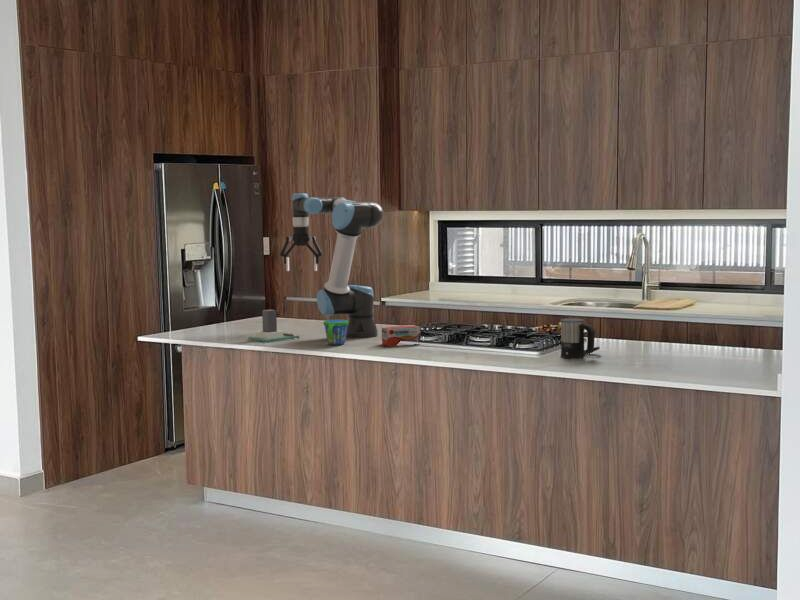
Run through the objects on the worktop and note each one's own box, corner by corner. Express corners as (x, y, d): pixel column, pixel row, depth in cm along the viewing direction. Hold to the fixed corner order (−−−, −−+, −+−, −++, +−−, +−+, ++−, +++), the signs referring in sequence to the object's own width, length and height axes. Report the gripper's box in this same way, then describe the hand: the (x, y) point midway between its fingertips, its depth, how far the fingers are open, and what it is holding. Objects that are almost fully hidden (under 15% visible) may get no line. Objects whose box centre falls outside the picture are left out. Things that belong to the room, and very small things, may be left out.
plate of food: (584, 328, 457) (584, 316, 456) (598, 336, 429) (598, 323, 429) (526, 331, 456) (525, 319, 456) (536, 339, 429) (535, 326, 428)
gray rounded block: (276, 336, 432) (276, 310, 431) (268, 337, 429) (267, 311, 428) (271, 335, 436) (270, 309, 435) (262, 336, 433) (262, 310, 432)
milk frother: (557, 358, 373) (557, 320, 371) (566, 352, 387) (566, 315, 386) (594, 360, 367) (594, 321, 366) (601, 354, 382) (601, 317, 381)
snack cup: (339, 347, 407) (339, 323, 406) (317, 346, 411) (316, 322, 410) (354, 342, 421) (354, 319, 420) (333, 341, 425) (332, 318, 424)
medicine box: (414, 342, 420) (414, 324, 419) (420, 345, 412) (420, 326, 411) (381, 344, 415) (381, 326, 414) (387, 347, 407) (387, 328, 406)
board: (299, 338, 435) (298, 330, 434) (265, 342, 423) (265, 334, 422) (281, 335, 445) (280, 327, 445) (248, 339, 433) (247, 331, 433)
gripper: (328, 225, 458) (329, 270, 460) (277, 226, 461) (278, 270, 463) (324, 226, 450) (325, 271, 452) (273, 226, 454) (274, 271, 456)
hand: (301, 270), depth 458 cm, fingers open, 13 cm apart
